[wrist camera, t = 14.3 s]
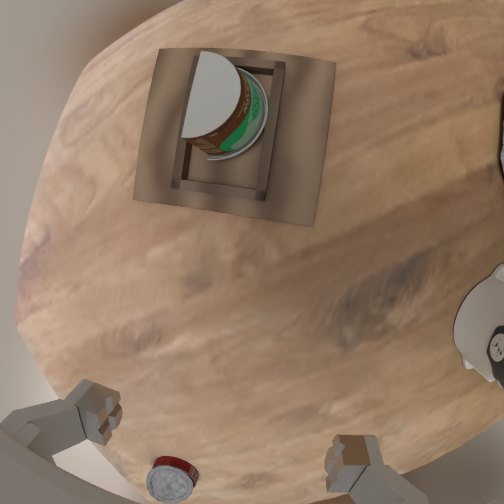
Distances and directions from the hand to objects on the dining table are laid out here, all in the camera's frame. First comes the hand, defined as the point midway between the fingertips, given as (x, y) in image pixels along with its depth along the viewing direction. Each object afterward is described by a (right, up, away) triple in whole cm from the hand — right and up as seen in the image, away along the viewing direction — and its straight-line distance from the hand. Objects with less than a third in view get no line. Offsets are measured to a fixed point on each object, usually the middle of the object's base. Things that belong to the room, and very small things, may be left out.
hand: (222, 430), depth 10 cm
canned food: (-15, -40, +43) cm, 61 cm away
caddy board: (-2, +22, +27) cm, 35 cm away
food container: (-2, +21, +16) cm, 26 cm away
